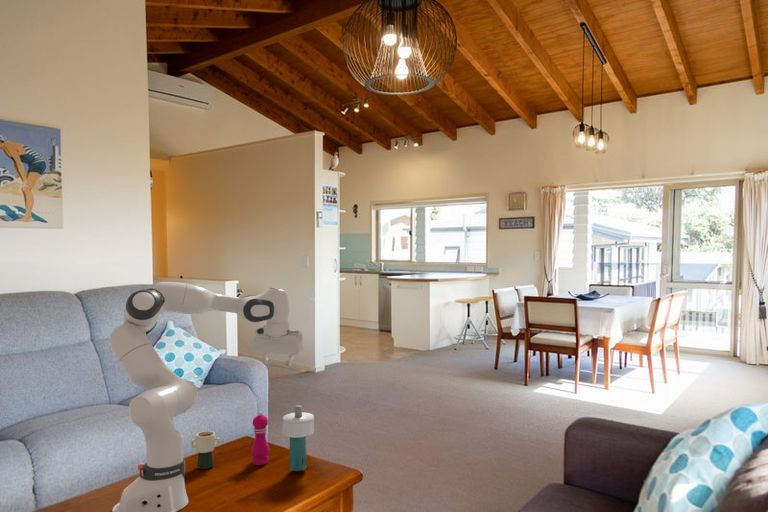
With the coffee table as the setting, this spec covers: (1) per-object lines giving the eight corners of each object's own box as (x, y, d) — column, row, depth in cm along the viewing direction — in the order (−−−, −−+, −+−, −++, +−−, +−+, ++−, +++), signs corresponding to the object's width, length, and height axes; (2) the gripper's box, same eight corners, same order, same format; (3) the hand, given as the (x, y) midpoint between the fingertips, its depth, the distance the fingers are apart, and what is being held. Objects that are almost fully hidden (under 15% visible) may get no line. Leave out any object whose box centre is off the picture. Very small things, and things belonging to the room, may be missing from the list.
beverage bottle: (303, 475, 192) (303, 421, 192) (286, 474, 193) (286, 420, 193) (309, 468, 198) (309, 416, 198) (292, 467, 200) (292, 415, 200)
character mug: (221, 462, 204) (221, 429, 204) (218, 470, 197) (218, 435, 197) (192, 464, 202) (192, 431, 202) (188, 472, 195) (188, 437, 195)
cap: (291, 439, 187) (291, 412, 187) (277, 431, 196) (277, 405, 196) (319, 433, 194) (319, 406, 194) (304, 425, 204) (304, 400, 204)
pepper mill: (250, 459, 207) (250, 409, 207) (268, 457, 209) (268, 408, 210) (251, 466, 200) (251, 414, 201) (270, 464, 203) (270, 413, 203)
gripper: (305, 329, 201) (305, 365, 201) (259, 327, 208) (259, 362, 208) (298, 331, 195) (298, 368, 195) (251, 329, 202) (251, 365, 202)
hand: (278, 365), depth 202 cm, fingers open, 8 cm apart
